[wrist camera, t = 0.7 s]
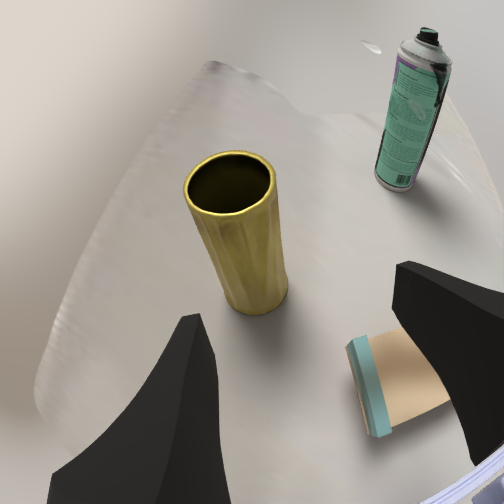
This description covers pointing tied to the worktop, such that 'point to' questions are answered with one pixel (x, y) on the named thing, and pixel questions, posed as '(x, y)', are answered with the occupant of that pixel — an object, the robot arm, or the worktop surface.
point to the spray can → (412, 109)
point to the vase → (240, 227)
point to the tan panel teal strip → (393, 380)
